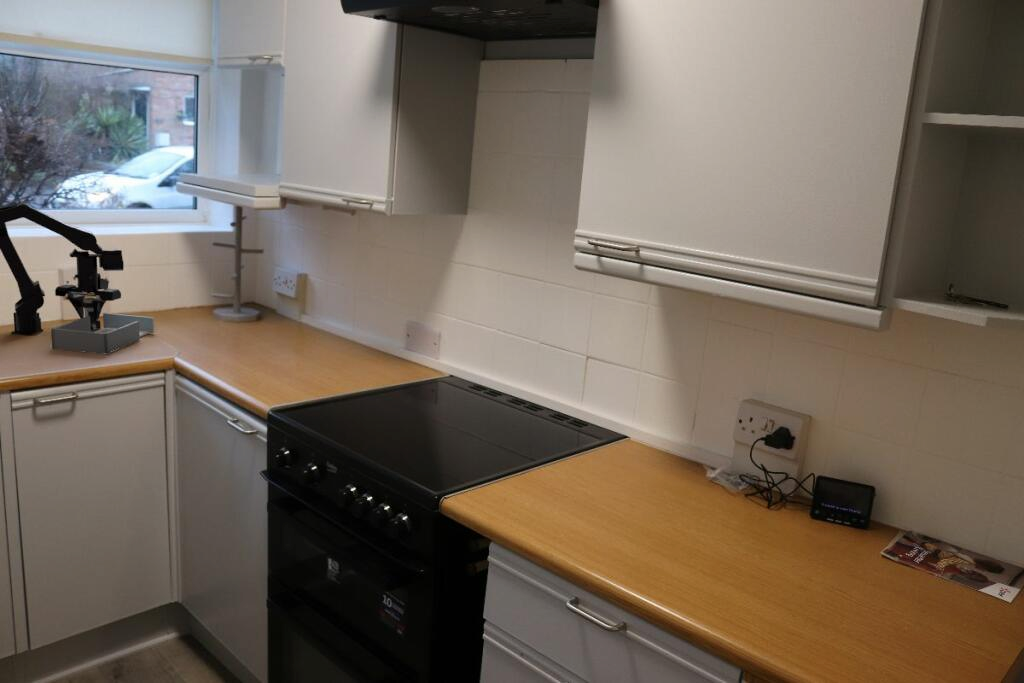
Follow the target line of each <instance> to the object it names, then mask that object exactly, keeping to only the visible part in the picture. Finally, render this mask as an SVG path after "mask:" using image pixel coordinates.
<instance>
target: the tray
mask: <svg viewBox="0 0 1024 683" xmlns="http://www.w3.org/2000/svg"><path fill="white" fill-rule="evenodd" d="M102 320H103V321H102V322H103V323H102V324H103V327H102V328H100V329H96V330H93V332H97V333H107V332H110V331H112V330H115V329H118V328H120V327H123V326H125V325H128V324H130V323H133V322H135V321H139V332H140V338H141V337H144V336H145V335H148V334H154V333H155V327H154V326H155V318H154V317H153V316H152V317H150V316H142V315H132V314H131V315H130V314H123V313H122V314H120V313H113V312H112V313H109V312H103V313H102Z"/></svg>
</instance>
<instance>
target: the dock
mask: <svg viewBox="0 0 1024 683" xmlns="http://www.w3.org/2000/svg"><path fill="white" fill-rule="evenodd" d="M50 334H51V335H50V336H51V349H52V348H53V349H52V350H59V349H63V350H62V351H69V350H73V351H72V352H80V351H85V352H84V353H90V352H96V353H95V354H100V353H109V352H111V351H113V350H116V349H118V348H120V349H122V348H121V347H123V346H125V347H126V345H127V346H129V345H131V343H132V344H134V343H136V342H138V340H139V341H140V338H141V337H140V332H139V321H135V322H133V323H130V324H128V325H125V326H123V327H120V328H118V329H115V330H112V331H110V332H107V333H97V332H94V331H92V330H91V326H90V316H87V317H85V316H84V318H78V319H76V320H73V321H70V322H67V323H65V324H64V323H63V324H61V325H58V326H55V327H53V328H50ZM133 342H134V343H133ZM123 348H124V347H123ZM118 350H119V349H118ZM116 351H117V350H116ZM113 352H114V351H113ZM111 353H112V352H111ZM109 354H110V353H109Z"/></svg>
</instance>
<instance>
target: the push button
mask: <svg viewBox="0 0 1024 683" xmlns="http://www.w3.org/2000/svg"><path fill="white" fill-rule="evenodd" d="M95 299H96V297H84V299H83V301H81V302H80V303H81V306H82V307H84V317H87V316H90V326H91V331H96V330H100V329H102V328H101V326H102V325H101V320H99V319H98V320H95V317H94V311H93V303H92V300H95Z"/></svg>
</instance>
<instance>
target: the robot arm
mask: <svg viewBox="0 0 1024 683" xmlns="http://www.w3.org/2000/svg"><path fill="white" fill-rule="evenodd" d="M19 219H26V220H27V221H30V222H33V223H34V224H37V225H38V226H41V227H43V228H45V229H47V230H49V231H51V232H53V233H56V234H58V235H59V236H62V237H63V238H65V239H66V240H67V241H69V243H72V244H73V245H74V246H76V247H77V248H78V249H79V250H81V251H79V250H78V249H77V248H74V249H73V250H72V251H71V252H70V253H69V257H70V258H76V274H74V278H75V279H76V280H77V285H74V284H63V285H58V286H57V287H55V290H54V296H56V297H65V299H66V300H68V301H69V303H70V304H71V305H72V306H73V308H74V310H75V311H76V314H77V315H78V317H79V319H81V318H84V317H85V309H84V307H82V306H81V303H80V302H81V301H83V299H84V298H86V296H89V297H90V296H91V297H95V298H96V299H95V300H92V303H93V311H94V317H95V320H98V321H99V318H100V316H101V312H102V310H103V307H104V306H105V304H106V302H113V301H115V300H119V299H121V298H122V292H121V290H120V289H118V288H117V289H116V288H109V283H110V280H108V279H105V278H102V276H101V273H100V272H98V266H99V268H102V271H105V272H107V271H108V272H110V271H111V272H112V271H113V272H115V271H116V272H119V271H124V260H123V258H124V257H123V253H122V252H123V250H122V249H121V248H120V249H119V248H116V249H103V247H101V245H99V244H98V240H97V238H96V237H95V234H94V233H93V232H92V231H90V230H88V229H84V228H81V227H77V226H74V225H71V224H70V225H69V224H67V223H65V222H63V221H61V220H59V219H57V218H55V217H53V216H51V215H49V214H46V213H44V212H42V211H40V210H39V209H37V208H35V207H32V206H30V204H28V203H26V202H20V203H18V204H14V205H9V206H3V207H0V252H1V254H2V257H4V259H5V262H6V264H7V265H8V266H7V267H9V269H10V272H11V273H12V275H13V277H14V279H15V281H16V283H17V287H18V291H19V294H20V299H19V300H18V301H17V302H15V303H14V312H13V313H12V314H13V326H14V327H13V328H14V330H13V331H11V332H10V333H11V334H15V335H26V336H33V335H35V334H38V333H41V331H42V332H44V329H43V328H42V318H41V317H40V312H38V310H40V309H41V308H42V307H43V306H44V304H45V298H44V297H45V296H46V292H45V291H44V290H43V289H42V288H41V285H40V281H39V280H36V281H34V280H33V279H32V278H31V277H30V274H28V271H27V269H26V268H25V265H24V263H23V261H22V259H21V258H20V255H19V253H18V252H17V249H16V247H15V246H14V243H13V241H12V239H11V238H10V234H9V230H8V227H7V223H9V222H13V221H16V220H19ZM89 251H90V252H92V253H90V252H89ZM66 296H67V297H66Z"/></svg>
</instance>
